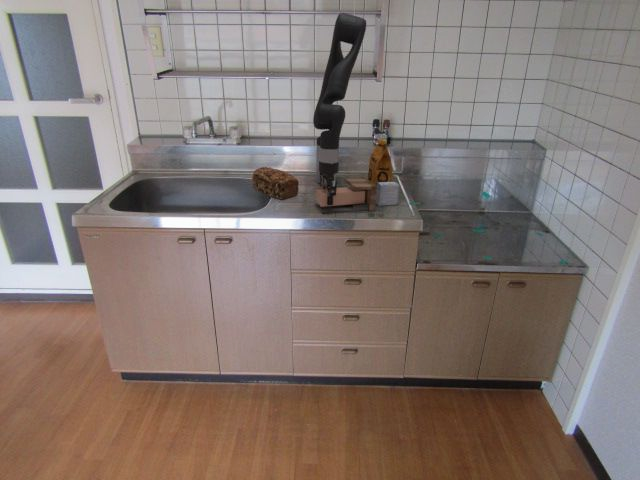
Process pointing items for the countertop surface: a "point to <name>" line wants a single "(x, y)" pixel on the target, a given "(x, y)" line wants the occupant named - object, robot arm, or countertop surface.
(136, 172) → the countertop surface
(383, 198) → the medicine box
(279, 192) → the bread
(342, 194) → the rectangular block
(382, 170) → the coffee package
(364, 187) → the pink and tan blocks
